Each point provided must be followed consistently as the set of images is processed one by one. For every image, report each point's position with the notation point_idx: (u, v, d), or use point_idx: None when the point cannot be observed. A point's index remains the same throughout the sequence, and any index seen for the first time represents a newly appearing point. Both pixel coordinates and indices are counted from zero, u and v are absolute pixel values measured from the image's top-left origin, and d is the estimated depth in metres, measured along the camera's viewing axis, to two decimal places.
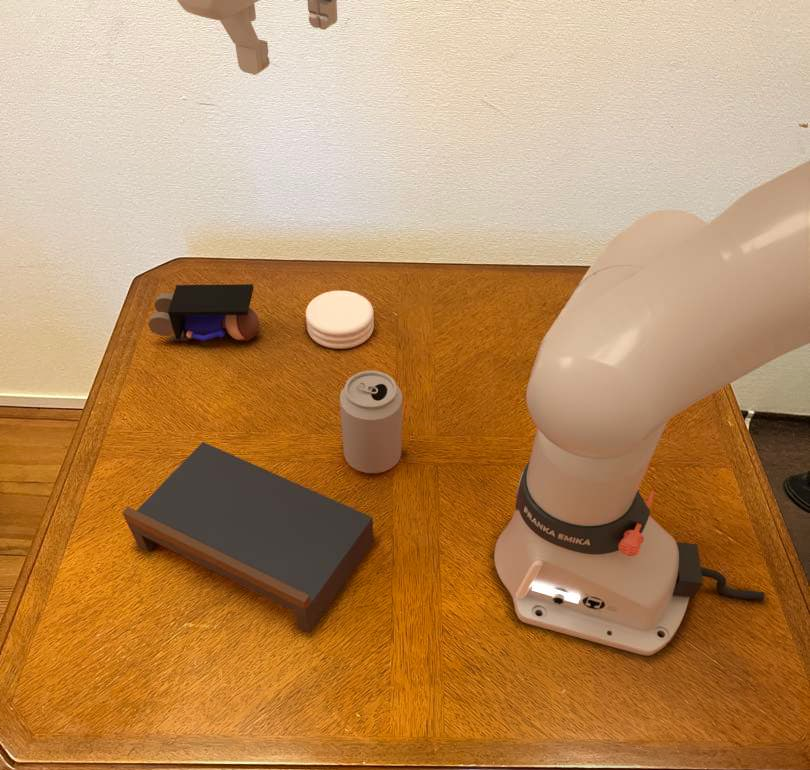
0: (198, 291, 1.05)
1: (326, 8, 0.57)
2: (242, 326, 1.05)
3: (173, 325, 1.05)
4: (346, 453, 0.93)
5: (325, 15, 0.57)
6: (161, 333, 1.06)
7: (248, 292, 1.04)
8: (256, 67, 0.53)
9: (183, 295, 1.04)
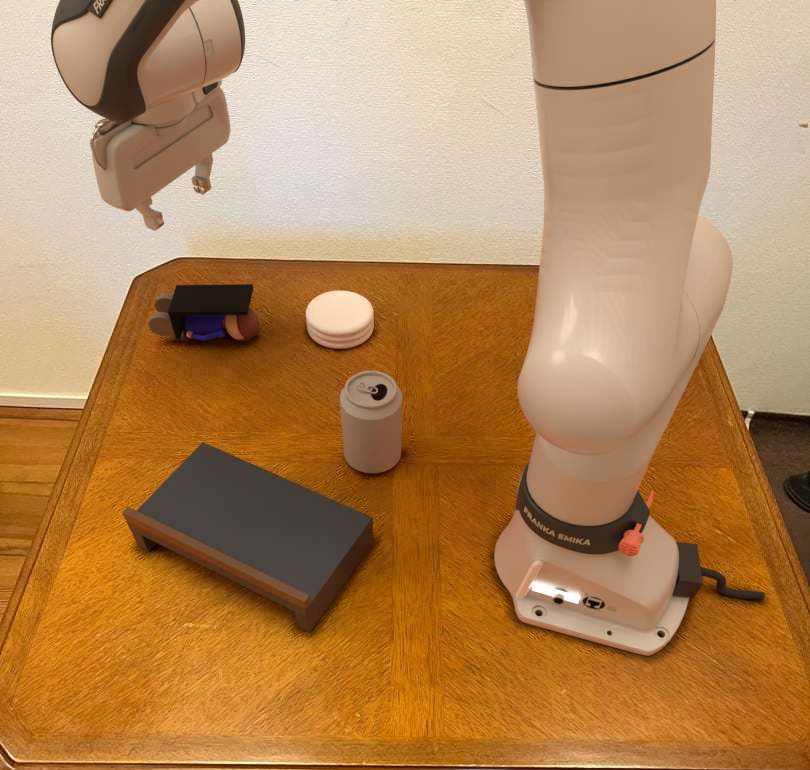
0: (198, 291, 1.05)
1: (202, 184, 0.93)
2: (242, 326, 1.05)
3: (173, 325, 1.05)
4: (346, 453, 0.93)
5: (202, 187, 0.94)
6: (161, 333, 1.06)
7: (248, 292, 1.04)
8: (155, 227, 0.89)
9: (183, 295, 1.04)
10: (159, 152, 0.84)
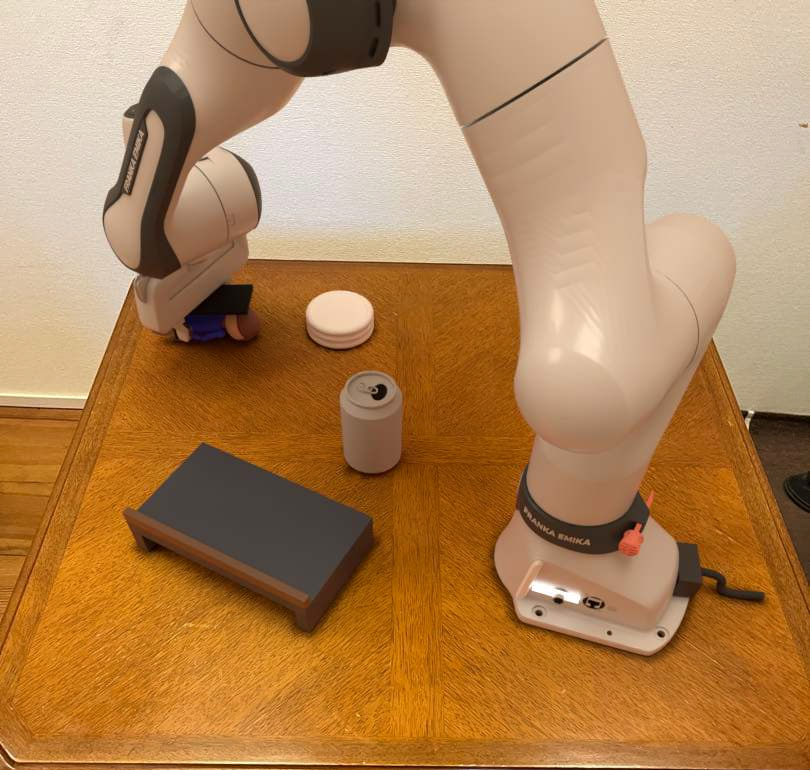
0: None
1: None
2: (242, 326, 1.05)
3: None
4: (346, 453, 0.93)
5: None
6: (161, 333, 1.06)
7: (248, 292, 1.04)
8: (186, 339, 1.04)
9: None
10: (190, 283, 0.98)
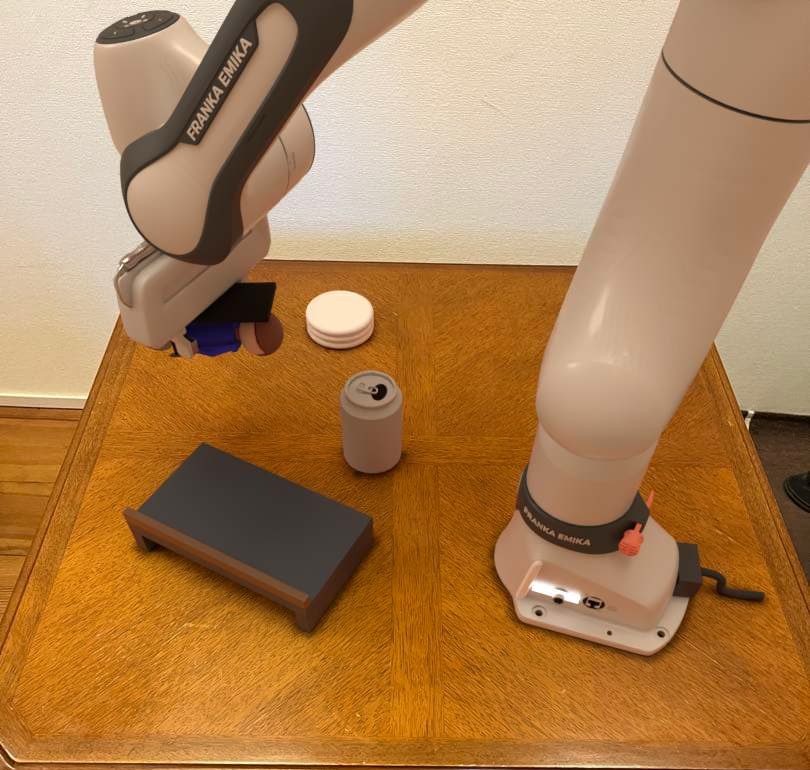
0: None
1: None
2: (262, 337, 0.80)
3: None
4: (346, 453, 0.93)
5: None
6: None
7: (269, 292, 0.79)
8: (189, 355, 0.78)
9: None
10: (192, 280, 0.73)
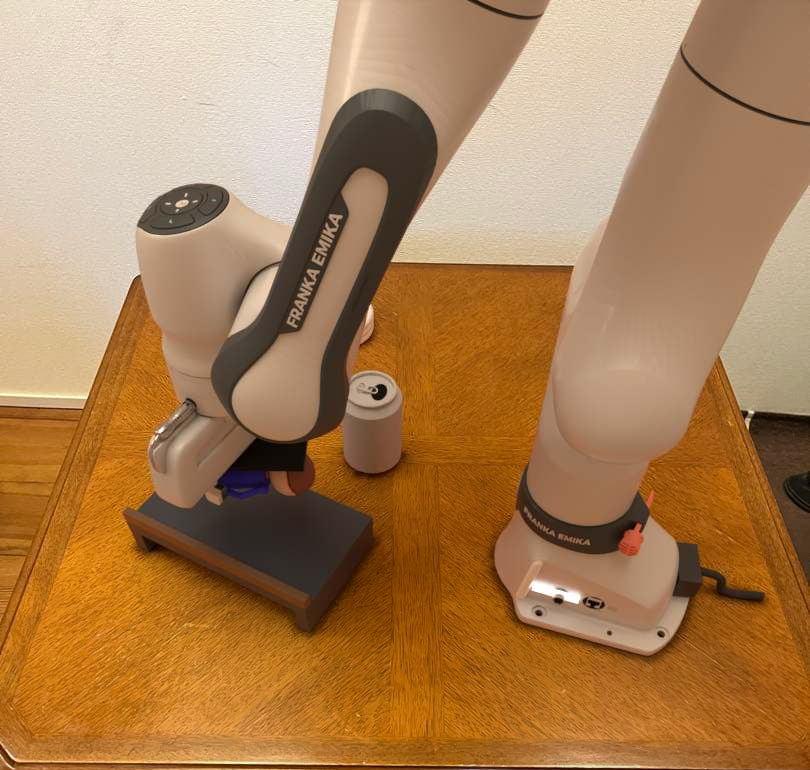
0: None
1: None
2: (294, 481, 0.76)
3: None
4: (346, 453, 0.93)
5: None
6: None
7: None
8: (218, 502, 0.75)
9: None
10: (227, 435, 0.69)
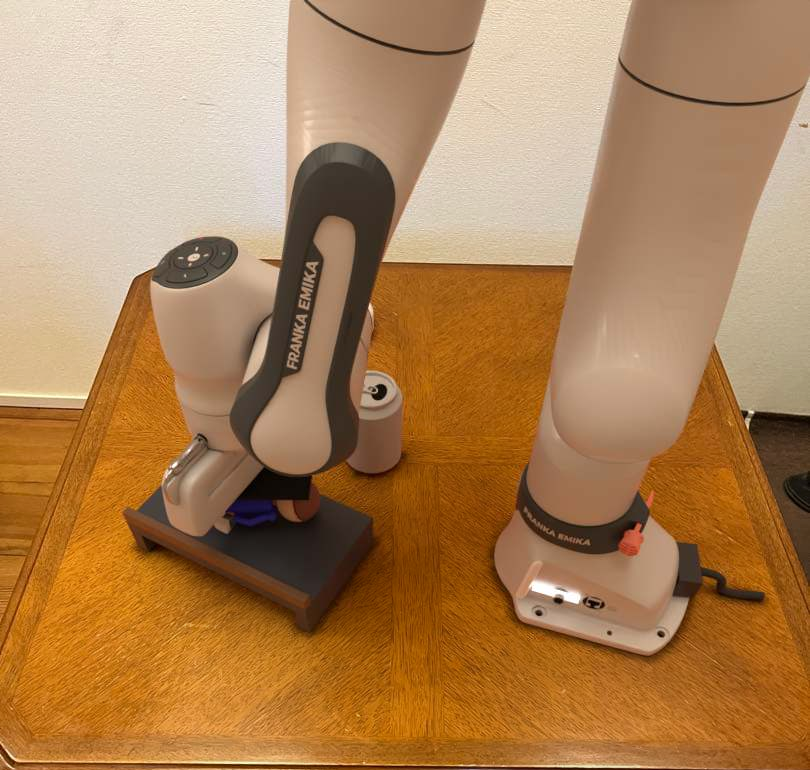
0: None
1: None
2: (300, 508, 0.80)
3: None
4: None
5: None
6: None
7: None
8: (226, 531, 0.78)
9: None
10: (236, 467, 0.73)
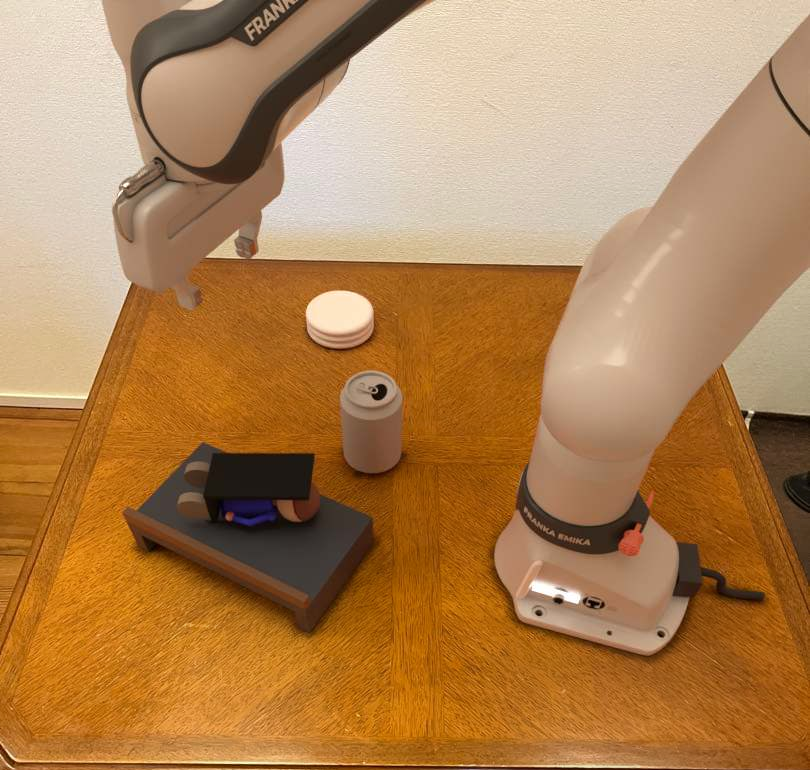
0: (242, 463, 0.79)
1: (248, 247, 0.74)
2: (300, 508, 0.80)
3: (209, 509, 0.79)
4: (346, 453, 0.93)
5: (248, 251, 0.74)
6: (193, 516, 0.80)
7: (309, 466, 0.79)
8: (191, 306, 0.69)
9: (222, 469, 0.79)
10: (200, 215, 0.64)
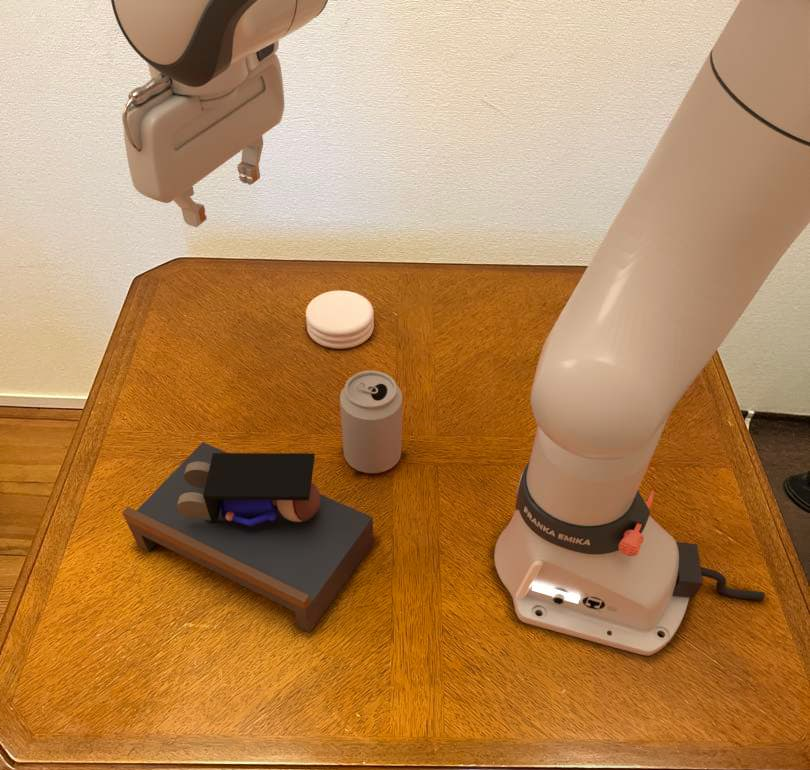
0: (242, 463, 0.79)
1: (250, 171, 0.78)
2: (300, 508, 0.80)
3: (209, 509, 0.79)
4: (346, 453, 0.93)
5: (250, 176, 0.79)
6: (193, 516, 0.80)
7: (309, 466, 0.79)
8: (196, 223, 0.74)
9: (222, 469, 0.79)
10: (204, 131, 0.69)
